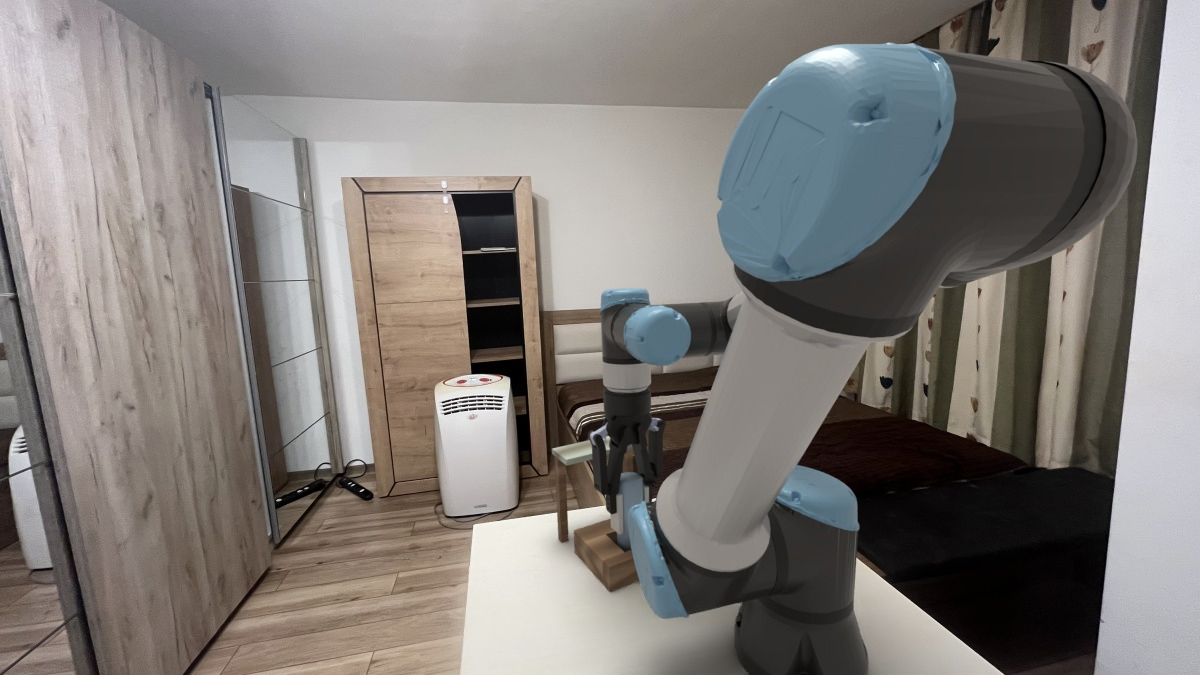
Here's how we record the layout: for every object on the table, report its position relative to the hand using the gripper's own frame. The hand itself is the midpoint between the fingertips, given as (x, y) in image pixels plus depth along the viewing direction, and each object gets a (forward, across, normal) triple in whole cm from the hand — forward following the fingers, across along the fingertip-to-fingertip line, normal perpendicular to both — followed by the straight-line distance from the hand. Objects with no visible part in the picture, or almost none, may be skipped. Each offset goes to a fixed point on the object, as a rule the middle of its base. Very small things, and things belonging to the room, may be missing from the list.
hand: (630, 525), depth 78 cm
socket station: (+6, 0, -4) cm, 7 cm away
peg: (+6, 0, 0) cm, 6 cm away
